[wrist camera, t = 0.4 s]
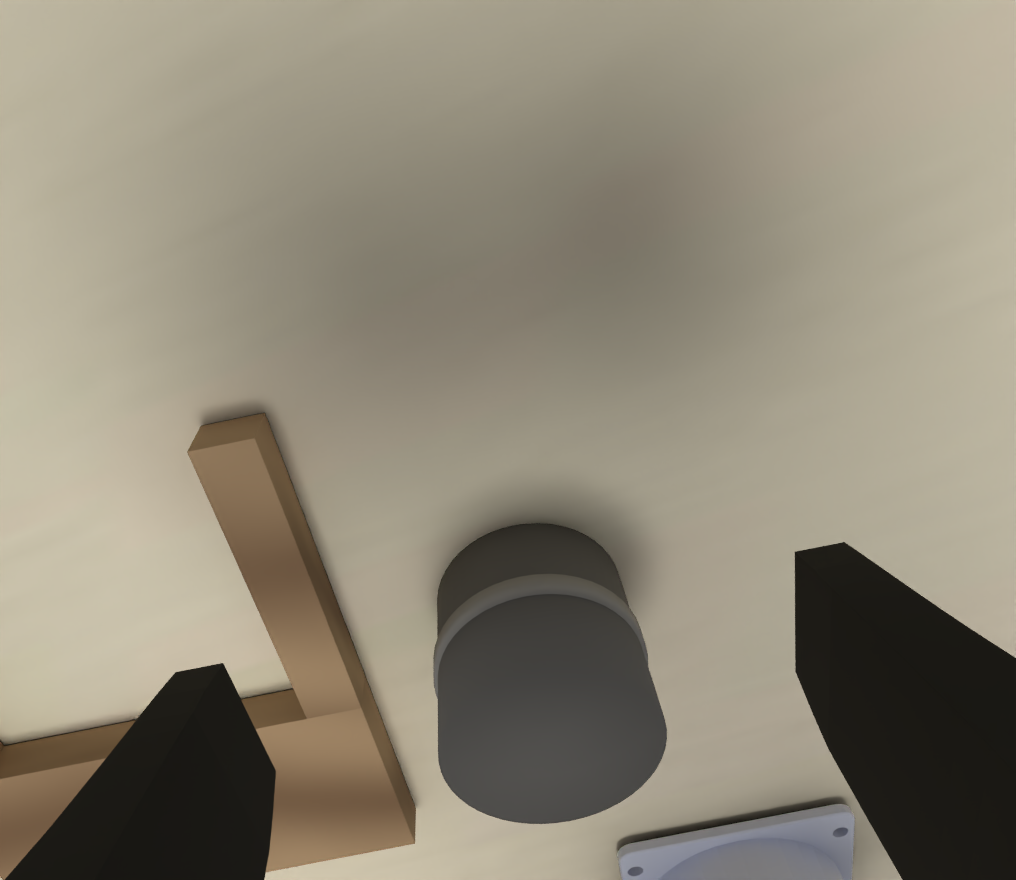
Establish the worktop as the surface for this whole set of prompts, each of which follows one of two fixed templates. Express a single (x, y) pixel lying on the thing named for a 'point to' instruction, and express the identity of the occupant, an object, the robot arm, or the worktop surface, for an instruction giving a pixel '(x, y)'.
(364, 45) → the worktop surface
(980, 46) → the worktop surface
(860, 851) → the worktop surface
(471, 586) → the grey flanged cylinder
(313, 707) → the brown wooden u-shaped bracket
